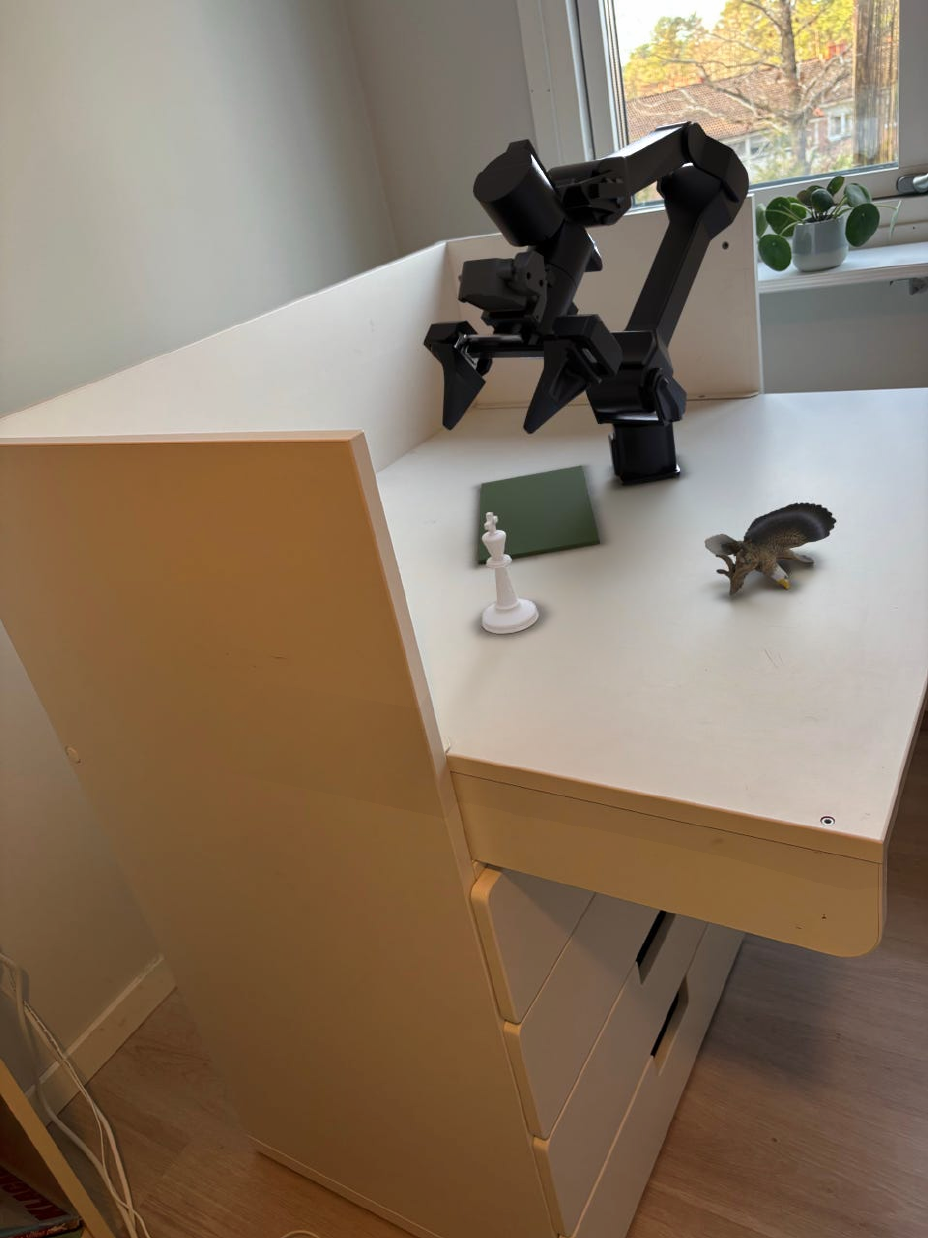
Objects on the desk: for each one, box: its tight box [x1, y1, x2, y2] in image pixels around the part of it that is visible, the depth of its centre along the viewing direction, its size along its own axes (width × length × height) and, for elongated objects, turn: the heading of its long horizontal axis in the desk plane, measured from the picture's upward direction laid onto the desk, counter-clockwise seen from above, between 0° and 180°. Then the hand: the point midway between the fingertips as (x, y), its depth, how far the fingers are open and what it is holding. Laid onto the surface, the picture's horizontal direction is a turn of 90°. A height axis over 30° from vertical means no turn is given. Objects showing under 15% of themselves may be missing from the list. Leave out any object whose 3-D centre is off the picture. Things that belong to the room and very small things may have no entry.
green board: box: [477, 465, 601, 565], centre depth 100 cm, size 12×22×1 cm, turn 178°
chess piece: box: [481, 512, 539, 635], centre depth 78 cm, size 5×5×10 cm
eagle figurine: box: [703, 502, 838, 597], centre depth 76 cm, size 8×7×9 cm
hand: (485, 429), depth 82 cm, fingers open, 9 cm apart
